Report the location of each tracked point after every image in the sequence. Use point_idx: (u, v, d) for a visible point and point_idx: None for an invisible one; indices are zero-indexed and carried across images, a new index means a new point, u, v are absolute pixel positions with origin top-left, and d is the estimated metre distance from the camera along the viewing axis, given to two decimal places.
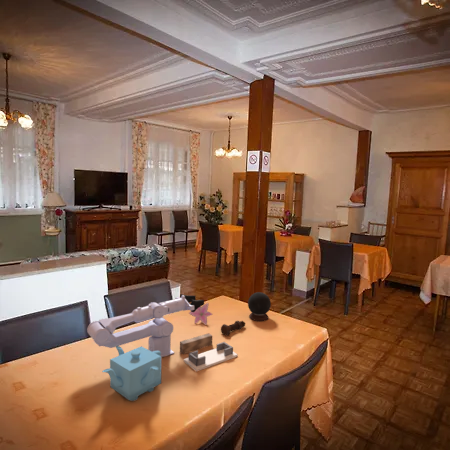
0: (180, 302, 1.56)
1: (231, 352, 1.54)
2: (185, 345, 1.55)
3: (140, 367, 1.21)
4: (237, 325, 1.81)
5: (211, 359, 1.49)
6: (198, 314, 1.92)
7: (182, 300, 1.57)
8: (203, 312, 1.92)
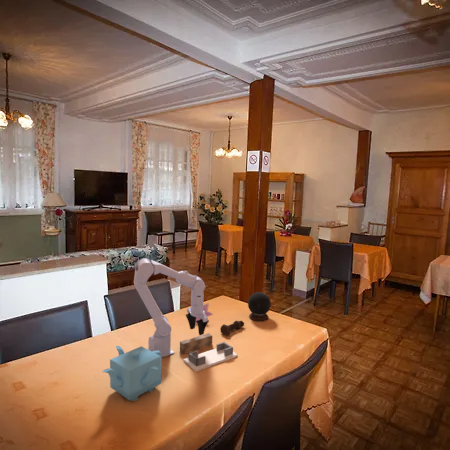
0: None
1: (231, 352, 1.54)
2: (185, 345, 1.55)
3: (140, 367, 1.21)
4: (236, 325, 1.81)
5: (211, 359, 1.49)
6: None
7: None
8: None
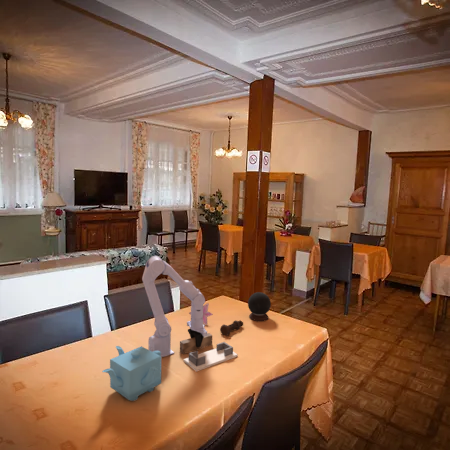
0: (202, 322, 1.59)
1: (231, 352, 1.54)
2: (185, 344, 1.55)
3: (140, 367, 1.21)
4: (236, 325, 1.81)
5: (211, 359, 1.49)
6: None
7: (202, 324, 1.60)
8: (204, 312, 1.92)
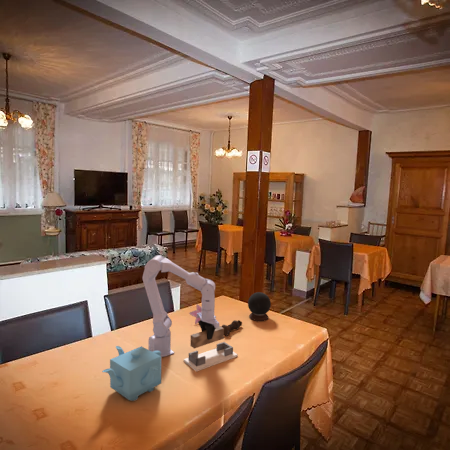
0: None
1: (231, 352, 1.54)
2: (196, 338, 1.48)
3: (140, 367, 1.21)
4: (235, 325, 1.81)
5: (211, 359, 1.49)
6: None
7: None
8: None
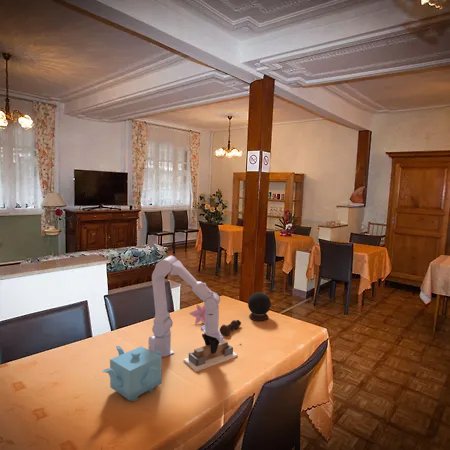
0: None
1: (231, 352, 1.54)
2: (200, 353, 1.46)
3: (140, 367, 1.21)
4: (234, 324, 1.82)
5: (211, 359, 1.49)
6: (199, 314, 1.91)
7: (218, 329, 1.50)
8: (204, 312, 1.92)
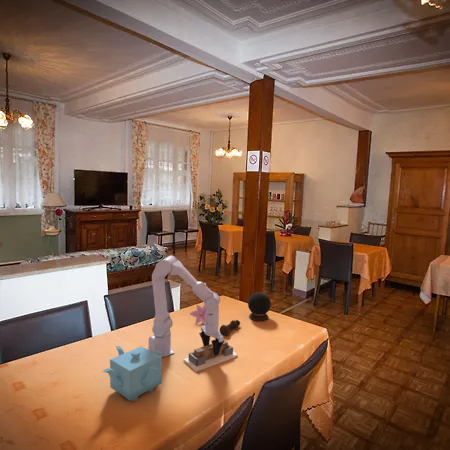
0: None
1: (231, 352, 1.54)
2: (200, 353, 1.46)
3: (140, 367, 1.21)
4: (234, 324, 1.82)
5: (211, 359, 1.49)
6: (199, 314, 1.91)
7: (218, 329, 1.50)
8: (204, 312, 1.91)
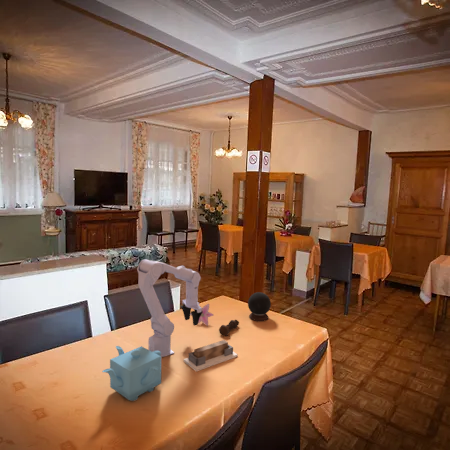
0: (197, 299, 1.66)
1: (231, 352, 1.54)
2: (200, 353, 1.46)
3: (140, 367, 1.21)
4: (233, 324, 1.82)
5: (211, 359, 1.49)
6: None
7: (197, 302, 1.66)
8: (204, 312, 1.91)
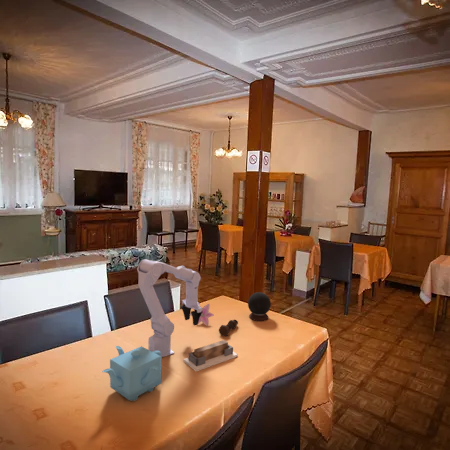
0: (197, 299, 1.66)
1: (231, 352, 1.54)
2: (200, 353, 1.46)
3: (140, 367, 1.21)
4: (232, 324, 1.82)
5: (211, 359, 1.49)
6: None
7: (197, 302, 1.66)
8: (205, 312, 1.91)
